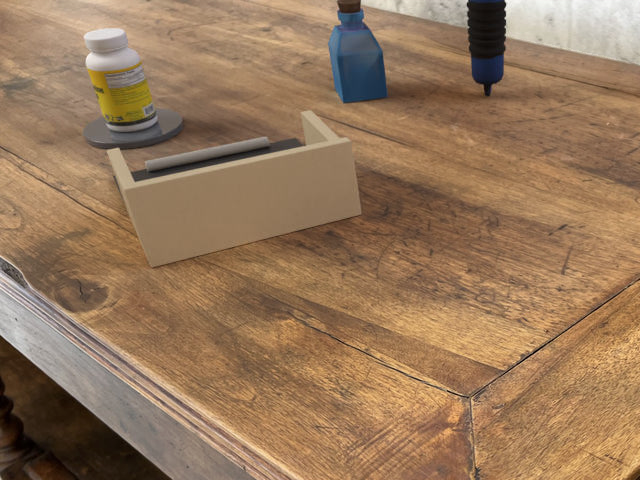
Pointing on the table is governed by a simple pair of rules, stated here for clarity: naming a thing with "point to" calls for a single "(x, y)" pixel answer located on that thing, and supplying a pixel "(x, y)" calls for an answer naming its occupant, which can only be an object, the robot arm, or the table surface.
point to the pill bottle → (119, 81)
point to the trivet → (134, 132)
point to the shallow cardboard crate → (238, 192)
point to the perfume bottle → (356, 56)
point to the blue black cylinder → (487, 41)
